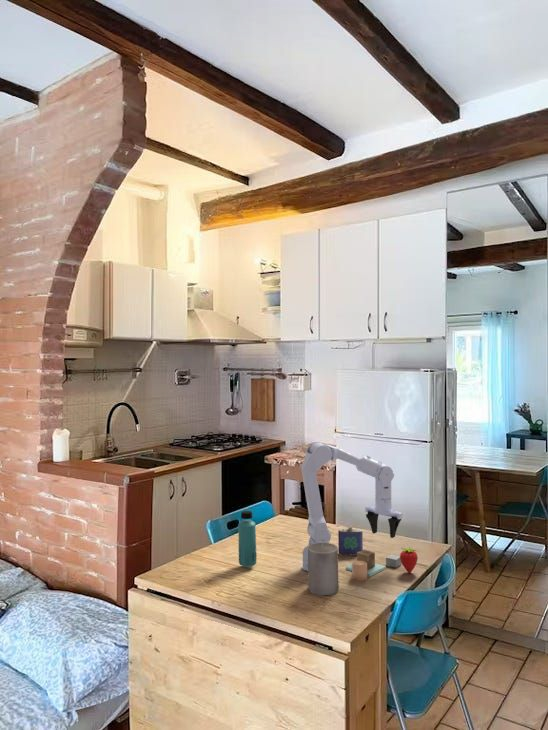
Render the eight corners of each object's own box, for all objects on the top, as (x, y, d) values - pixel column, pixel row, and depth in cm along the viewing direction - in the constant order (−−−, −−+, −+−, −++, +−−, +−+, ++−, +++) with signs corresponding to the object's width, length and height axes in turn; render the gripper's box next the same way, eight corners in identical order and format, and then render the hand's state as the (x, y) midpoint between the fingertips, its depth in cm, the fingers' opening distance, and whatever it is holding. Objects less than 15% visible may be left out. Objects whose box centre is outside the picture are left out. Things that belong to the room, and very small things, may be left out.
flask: (362, 552, 215) (362, 524, 214) (363, 555, 212) (363, 527, 212) (338, 552, 215) (337, 524, 215) (338, 555, 212) (338, 527, 212)
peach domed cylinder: (361, 582, 187) (361, 567, 186) (349, 578, 190) (349, 563, 190) (370, 577, 190) (370, 563, 190) (357, 574, 194) (357, 559, 194)
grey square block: (396, 568, 199) (396, 559, 199) (385, 565, 201) (385, 557, 201) (401, 564, 202) (401, 556, 202) (390, 562, 205) (390, 554, 205)
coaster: (369, 576, 191) (369, 574, 191) (345, 569, 198) (345, 567, 198) (385, 568, 198) (385, 566, 198) (362, 561, 205) (362, 559, 205)
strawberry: (398, 575, 192) (397, 546, 192) (402, 567, 199) (402, 539, 199) (415, 578, 189) (415, 548, 189) (419, 570, 196) (419, 541, 196)
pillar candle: (319, 581, 187) (318, 536, 187) (344, 588, 181) (343, 542, 181) (302, 591, 180) (301, 544, 180) (327, 599, 174) (326, 550, 173)
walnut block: (367, 570, 195) (367, 555, 195) (356, 566, 198) (356, 552, 198) (374, 566, 198) (374, 552, 198) (364, 563, 201) (364, 549, 201)
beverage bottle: (254, 571, 196) (253, 514, 196) (236, 570, 198) (235, 513, 198) (258, 564, 203) (258, 509, 203) (240, 563, 204) (240, 508, 204)
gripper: (406, 498, 202) (407, 536, 202) (372, 492, 212) (372, 528, 212) (396, 502, 197) (396, 541, 197) (361, 496, 207) (362, 532, 207)
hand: (383, 535), depth 204 cm, fingers open, 7 cm apart
